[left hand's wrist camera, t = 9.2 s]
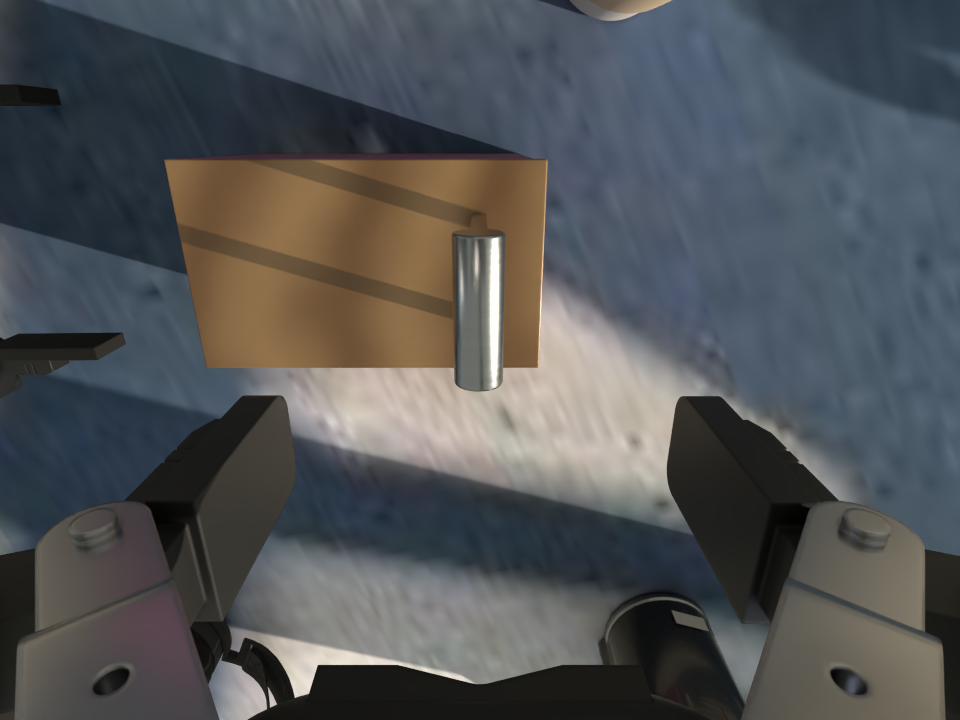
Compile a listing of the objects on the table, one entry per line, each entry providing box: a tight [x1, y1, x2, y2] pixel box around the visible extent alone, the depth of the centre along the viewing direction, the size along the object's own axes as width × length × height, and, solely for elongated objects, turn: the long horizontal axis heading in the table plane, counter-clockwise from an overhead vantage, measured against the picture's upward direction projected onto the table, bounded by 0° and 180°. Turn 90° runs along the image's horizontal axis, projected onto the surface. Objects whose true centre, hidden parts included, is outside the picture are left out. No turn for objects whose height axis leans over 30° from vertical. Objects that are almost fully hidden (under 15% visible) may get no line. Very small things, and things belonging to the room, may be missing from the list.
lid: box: [164, 159, 547, 391], centre depth 23 cm, size 17×10×8 cm, turn 90°
